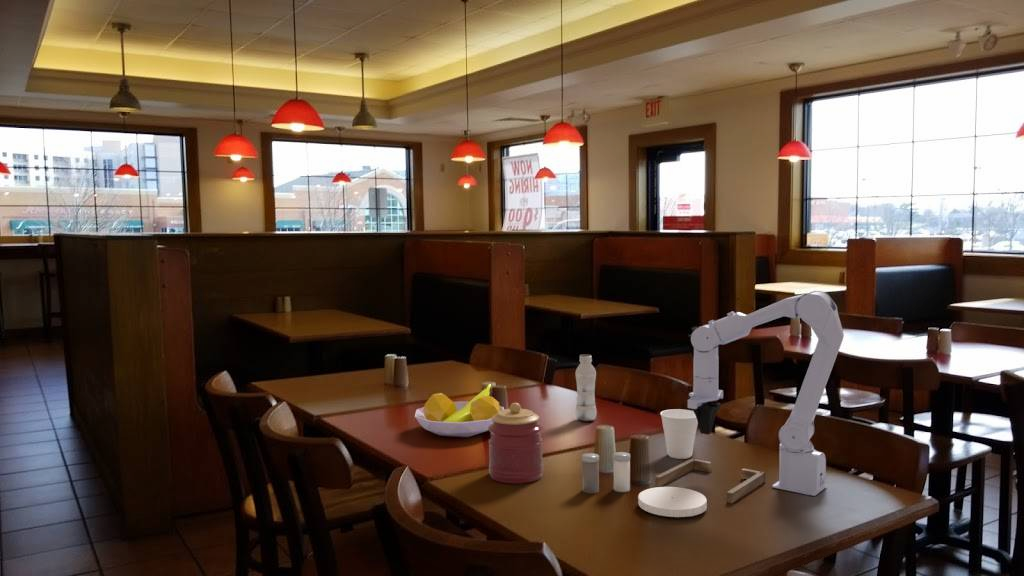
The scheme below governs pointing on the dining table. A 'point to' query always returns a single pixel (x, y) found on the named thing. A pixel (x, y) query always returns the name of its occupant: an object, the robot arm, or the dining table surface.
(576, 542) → the dining table surface
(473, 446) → the dining table surface
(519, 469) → the canister
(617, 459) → the salt shaker
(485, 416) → the fruit bowl
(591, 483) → the pepper shaker
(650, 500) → the plastic lid
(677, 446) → the cup
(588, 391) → the plastic bottle
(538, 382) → the dining table surface
